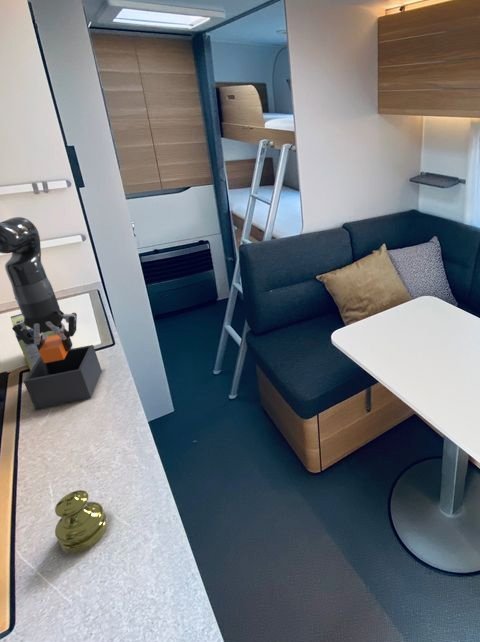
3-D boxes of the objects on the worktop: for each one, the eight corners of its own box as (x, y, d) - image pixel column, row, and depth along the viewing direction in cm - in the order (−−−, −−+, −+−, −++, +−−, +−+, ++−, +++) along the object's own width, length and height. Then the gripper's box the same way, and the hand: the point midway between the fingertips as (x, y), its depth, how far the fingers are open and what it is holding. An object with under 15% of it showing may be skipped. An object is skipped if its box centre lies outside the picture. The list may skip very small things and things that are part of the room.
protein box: (66, 345, 136) (51, 304, 130) (76, 365, 126) (60, 321, 120) (27, 358, 130) (9, 316, 124) (34, 381, 119) (15, 336, 113)
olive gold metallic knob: (66, 525, 79) (50, 489, 75) (111, 510, 82) (97, 474, 78) (57, 562, 73) (38, 525, 69) (105, 544, 76) (90, 507, 72)
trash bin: (36, 411, 108) (23, 381, 104) (52, 382, 119) (41, 354, 115) (91, 399, 112) (80, 370, 108) (102, 372, 123) (93, 344, 119)
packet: (64, 359, 108) (59, 346, 107) (43, 363, 107) (38, 350, 106) (71, 345, 115) (67, 333, 113) (52, 348, 113) (47, 336, 112)
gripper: (72, 285, 109) (91, 338, 116) (7, 294, 105) (30, 350, 111) (64, 297, 103) (84, 353, 110) (-6, 308, 98) (19, 366, 105)
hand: (57, 351), depth 110 cm, fingers closed on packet, 4 cm apart
